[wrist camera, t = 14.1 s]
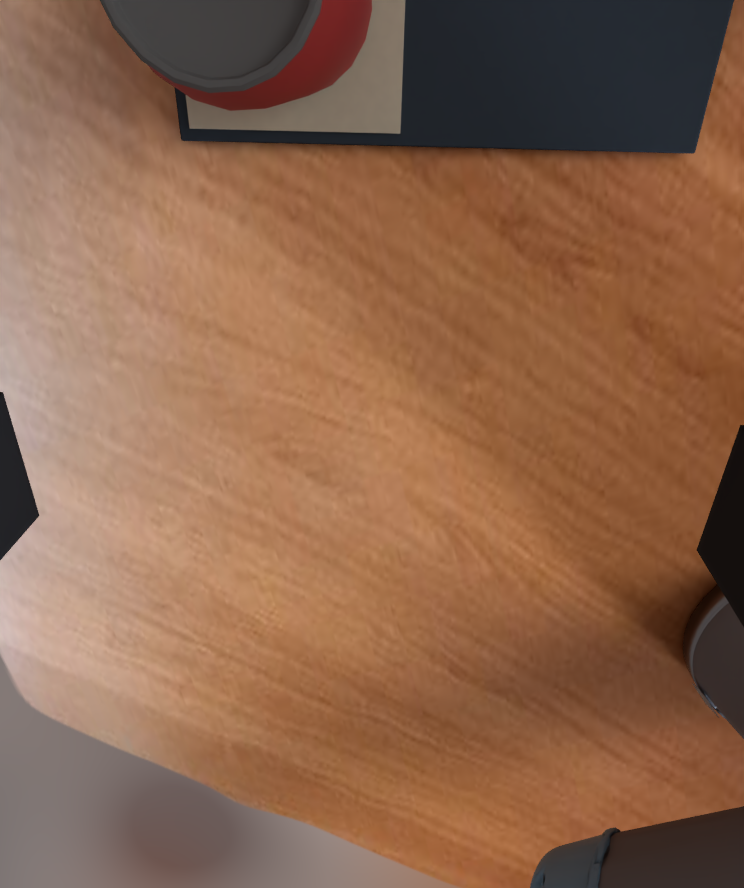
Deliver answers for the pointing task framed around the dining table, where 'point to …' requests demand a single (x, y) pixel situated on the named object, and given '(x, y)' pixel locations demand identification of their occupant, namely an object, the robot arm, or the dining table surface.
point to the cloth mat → (505, 79)
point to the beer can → (244, 45)
